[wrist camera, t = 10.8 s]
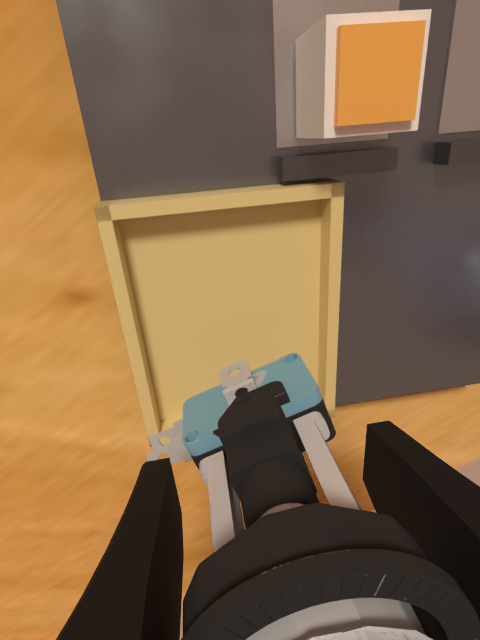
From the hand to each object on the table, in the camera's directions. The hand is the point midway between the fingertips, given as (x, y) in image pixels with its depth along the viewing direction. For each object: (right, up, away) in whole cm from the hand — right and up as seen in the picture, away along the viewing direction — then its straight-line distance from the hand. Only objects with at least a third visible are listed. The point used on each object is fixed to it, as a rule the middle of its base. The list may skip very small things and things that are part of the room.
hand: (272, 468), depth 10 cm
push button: (-1, +1, +5) cm, 5 cm away
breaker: (+3, +12, +4) cm, 13 cm away
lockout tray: (-1, +4, +7) cm, 8 cm away
